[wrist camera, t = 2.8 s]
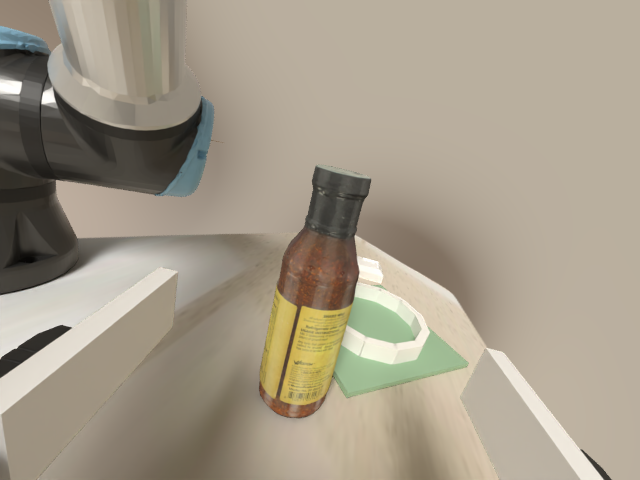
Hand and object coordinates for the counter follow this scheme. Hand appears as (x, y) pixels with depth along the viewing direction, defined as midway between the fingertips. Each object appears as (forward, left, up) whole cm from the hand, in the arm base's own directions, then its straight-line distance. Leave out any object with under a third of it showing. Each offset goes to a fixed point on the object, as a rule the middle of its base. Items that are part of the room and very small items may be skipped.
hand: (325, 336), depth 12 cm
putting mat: (-16, +19, -14) cm, 28 cm away
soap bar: (-31, +27, -15) cm, 43 cm away
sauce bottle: (-9, +5, -14) cm, 17 cm away
